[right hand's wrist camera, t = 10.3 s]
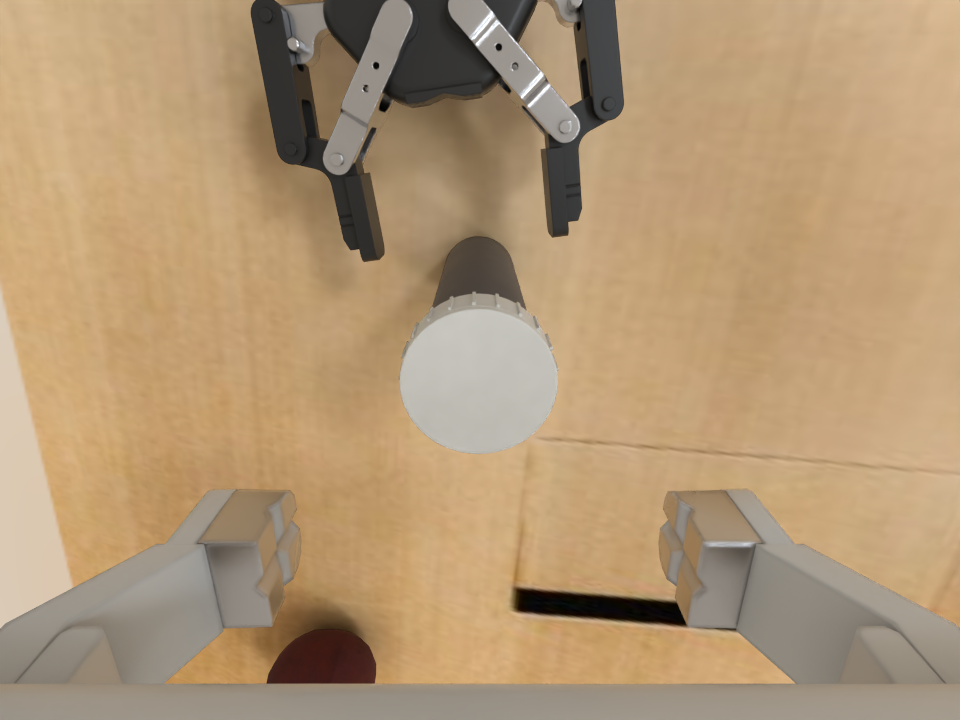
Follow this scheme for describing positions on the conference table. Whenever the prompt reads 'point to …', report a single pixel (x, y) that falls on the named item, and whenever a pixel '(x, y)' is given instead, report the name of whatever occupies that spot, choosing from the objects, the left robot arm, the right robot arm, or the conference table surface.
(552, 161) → the left robot arm
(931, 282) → the conference table surface
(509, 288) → the dark grey cylinder
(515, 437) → the lid
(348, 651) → the potato
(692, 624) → the right robot arm
